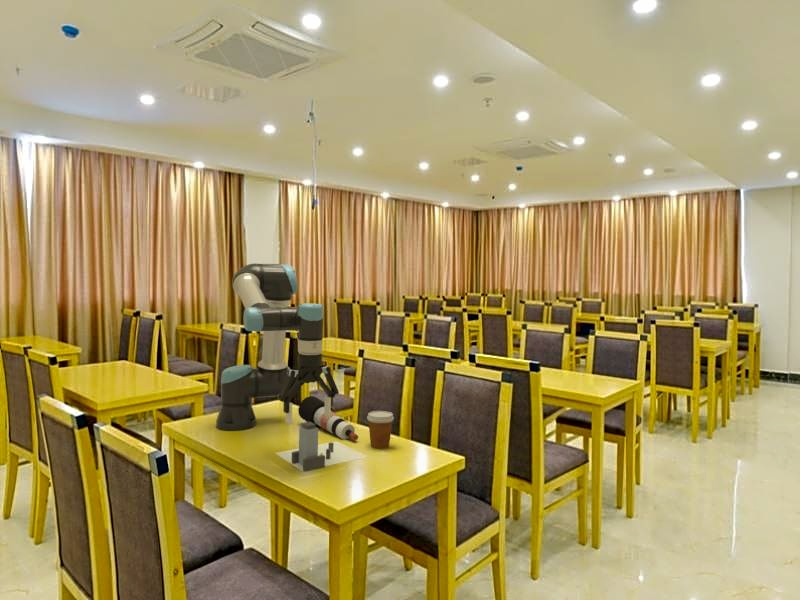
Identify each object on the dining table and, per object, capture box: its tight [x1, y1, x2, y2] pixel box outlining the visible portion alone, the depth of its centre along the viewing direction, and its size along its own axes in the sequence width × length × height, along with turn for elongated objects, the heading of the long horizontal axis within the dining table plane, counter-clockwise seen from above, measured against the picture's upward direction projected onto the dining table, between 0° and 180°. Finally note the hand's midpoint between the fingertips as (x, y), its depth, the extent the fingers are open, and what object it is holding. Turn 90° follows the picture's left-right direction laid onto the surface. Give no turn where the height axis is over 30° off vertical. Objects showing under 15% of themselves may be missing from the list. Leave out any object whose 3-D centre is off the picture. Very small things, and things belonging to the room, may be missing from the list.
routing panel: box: [274, 440, 368, 472], centre depth 181 cm, size 20×24×4 cm
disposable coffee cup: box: [366, 410, 395, 450], centre depth 192 cm, size 10×10×12 cm
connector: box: [298, 421, 319, 466], centre depth 171 cm, size 5×4×13 cm
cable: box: [297, 395, 359, 441], centre depth 209 cm, size 10×34×10 cm, turn 39°
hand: (308, 419), depth 171 cm, fingers open, 13 cm apart
